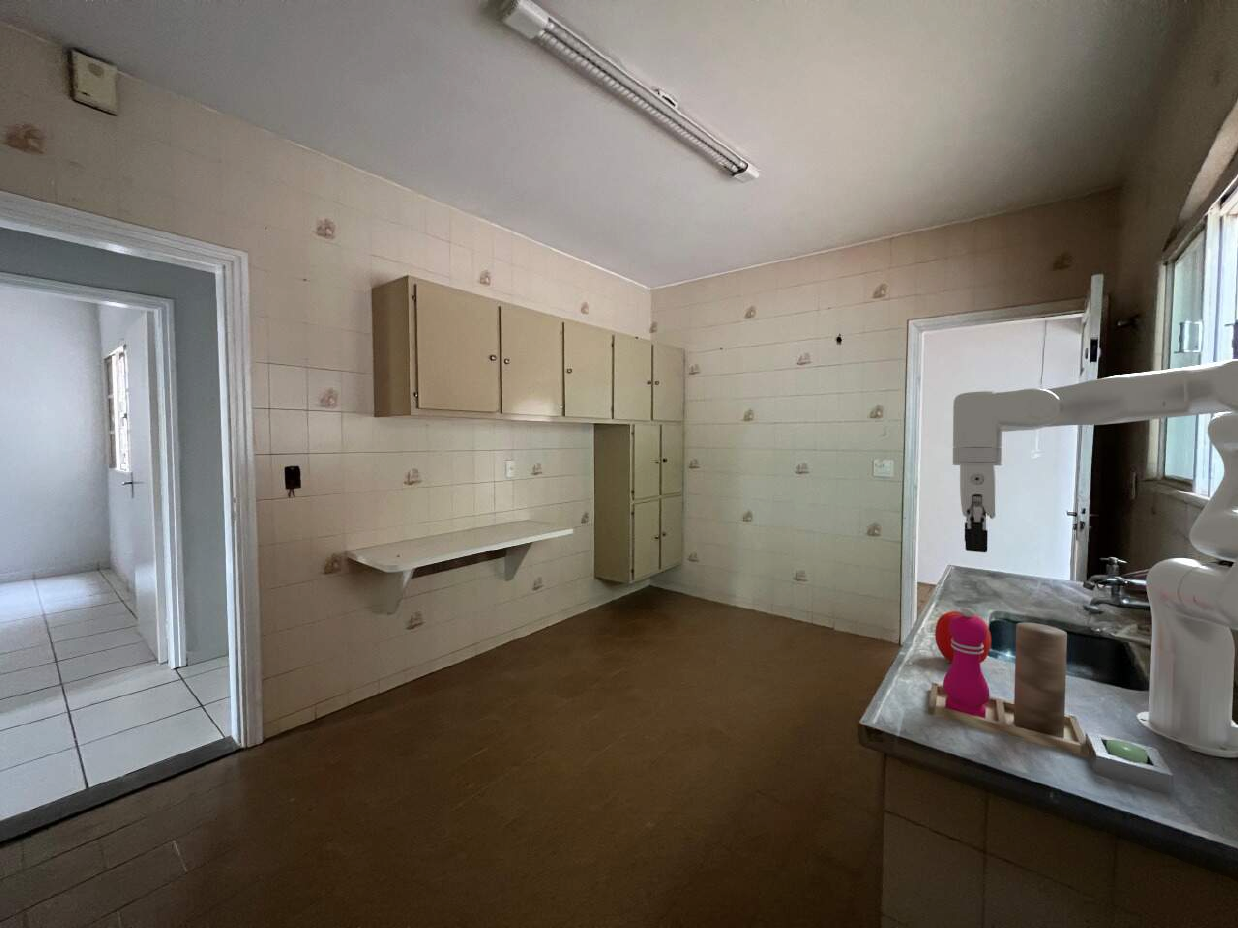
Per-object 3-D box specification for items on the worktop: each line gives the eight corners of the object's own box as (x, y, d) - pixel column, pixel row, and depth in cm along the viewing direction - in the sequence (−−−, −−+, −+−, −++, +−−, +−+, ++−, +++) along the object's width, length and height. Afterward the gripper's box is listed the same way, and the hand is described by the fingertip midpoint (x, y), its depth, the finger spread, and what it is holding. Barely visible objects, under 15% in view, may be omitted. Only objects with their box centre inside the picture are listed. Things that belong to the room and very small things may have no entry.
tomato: (933, 651, 123) (934, 601, 123) (986, 661, 118) (988, 608, 117) (935, 668, 113) (937, 614, 113) (994, 679, 108) (995, 622, 108)
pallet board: (1075, 730, 88) (1075, 716, 88) (1088, 762, 79) (1089, 747, 79) (931, 694, 101) (932, 682, 101) (928, 718, 92) (928, 705, 92)
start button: (1141, 771, 76) (1142, 745, 76) (1150, 786, 73) (1151, 760, 73) (1102, 760, 79) (1103, 736, 79) (1109, 775, 75) (1110, 749, 75)
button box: (1154, 773, 77) (1155, 748, 77) (1172, 802, 70) (1173, 775, 70) (1085, 754, 81) (1085, 730, 81) (1095, 780, 75) (1096, 755, 75)
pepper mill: (977, 704, 95) (980, 603, 95) (997, 725, 88) (1000, 616, 87) (935, 700, 97) (938, 600, 96) (952, 719, 90) (955, 612, 89)
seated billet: (1060, 726, 88) (1063, 627, 87) (1066, 744, 82) (1070, 639, 82) (1012, 714, 92) (1014, 619, 91) (1015, 731, 86) (1018, 630, 86)
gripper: (1005, 458, 83) (1004, 557, 84) (998, 457, 97) (996, 542, 98) (952, 457, 88) (951, 552, 88) (952, 457, 102) (951, 538, 102)
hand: (975, 546), depth 93 cm, fingers open, 9 cm apart
